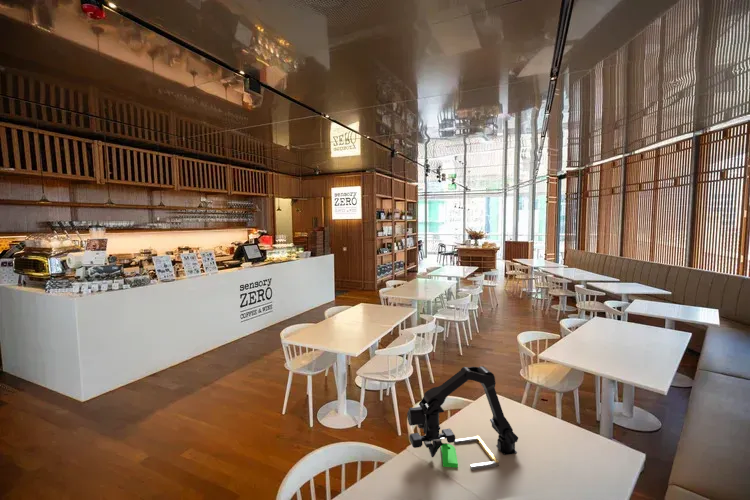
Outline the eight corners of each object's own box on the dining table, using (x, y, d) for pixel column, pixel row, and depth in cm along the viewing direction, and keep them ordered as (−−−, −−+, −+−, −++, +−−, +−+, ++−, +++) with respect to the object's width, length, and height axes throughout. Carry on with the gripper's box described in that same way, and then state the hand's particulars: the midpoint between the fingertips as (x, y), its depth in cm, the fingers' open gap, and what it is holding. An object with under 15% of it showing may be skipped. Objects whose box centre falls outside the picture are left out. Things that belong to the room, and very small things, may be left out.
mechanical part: (457, 468, 136) (457, 449, 136) (443, 467, 137) (443, 448, 136) (454, 448, 148) (454, 431, 148) (440, 447, 149) (441, 430, 148)
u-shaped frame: (478, 439, 154) (478, 435, 154) (498, 465, 137) (498, 461, 137) (454, 442, 152) (454, 439, 152) (471, 470, 135) (471, 465, 135)
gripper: (445, 408, 149) (445, 441, 150) (405, 413, 146) (406, 447, 147) (456, 423, 138) (456, 458, 139) (413, 428, 135) (413, 465, 136)
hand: (432, 456), depth 141 cm, fingers closed
